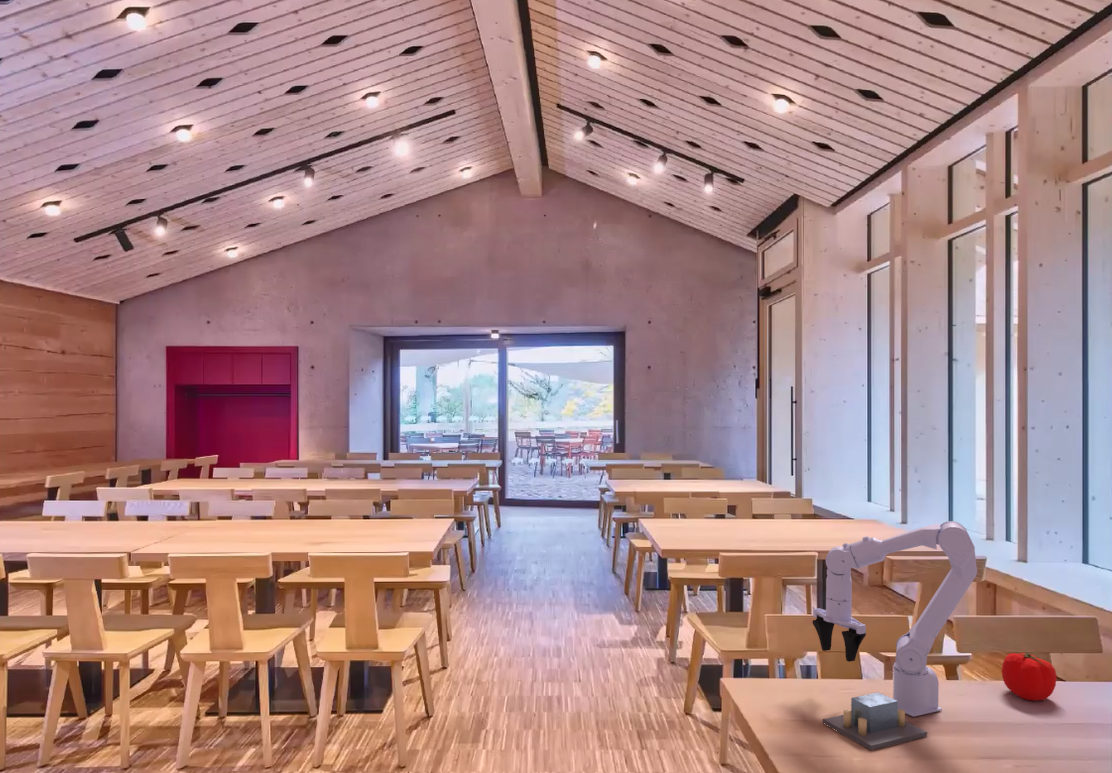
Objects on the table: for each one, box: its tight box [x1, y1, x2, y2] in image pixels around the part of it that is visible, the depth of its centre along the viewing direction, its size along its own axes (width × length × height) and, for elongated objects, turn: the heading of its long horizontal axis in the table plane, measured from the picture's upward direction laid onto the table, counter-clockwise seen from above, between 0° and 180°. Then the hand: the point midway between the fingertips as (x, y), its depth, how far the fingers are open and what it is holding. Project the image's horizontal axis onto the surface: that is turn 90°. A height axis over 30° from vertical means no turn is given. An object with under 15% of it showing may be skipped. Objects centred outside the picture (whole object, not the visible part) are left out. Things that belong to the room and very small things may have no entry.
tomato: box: [1001, 651, 1058, 702], centre depth 175 cm, size 11×13×10 cm
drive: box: [850, 692, 898, 734], centre depth 156 cm, size 8×5×6 cm, turn 114°
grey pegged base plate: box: [822, 709, 928, 751], centre depth 156 cm, size 16×13×4 cm
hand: (838, 655), depth 174 cm, fingers open, 7 cm apart
